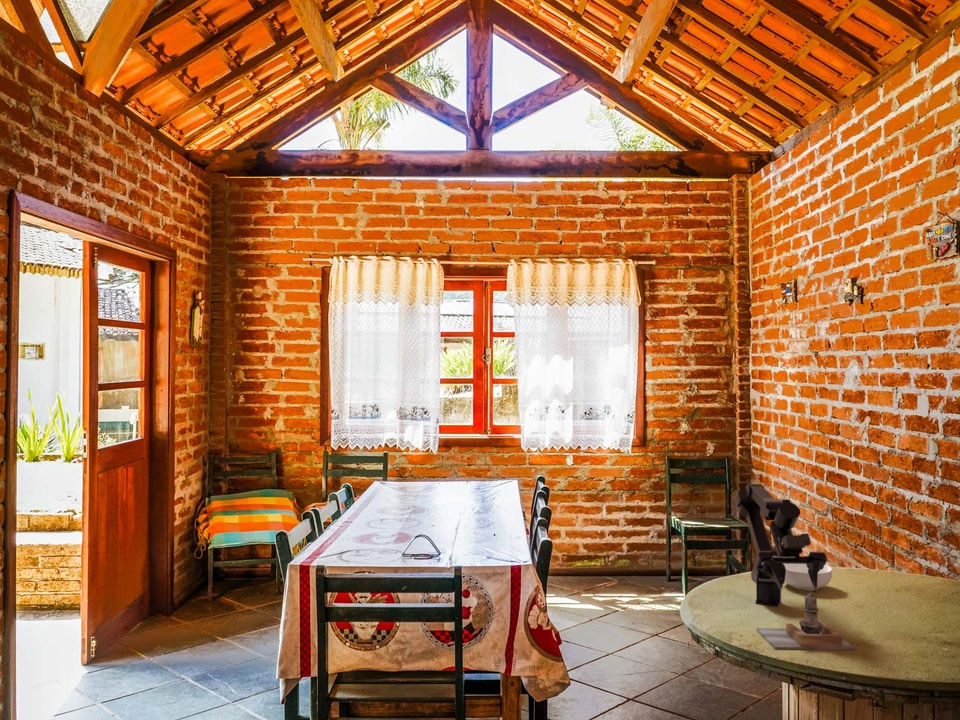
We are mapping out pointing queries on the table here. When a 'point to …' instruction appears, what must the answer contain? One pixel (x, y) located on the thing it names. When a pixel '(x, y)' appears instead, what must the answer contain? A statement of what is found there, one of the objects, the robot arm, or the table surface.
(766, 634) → the wooden u-frame tray
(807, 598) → the salt shaker
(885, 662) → the table surface
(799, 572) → the cereal bowl
